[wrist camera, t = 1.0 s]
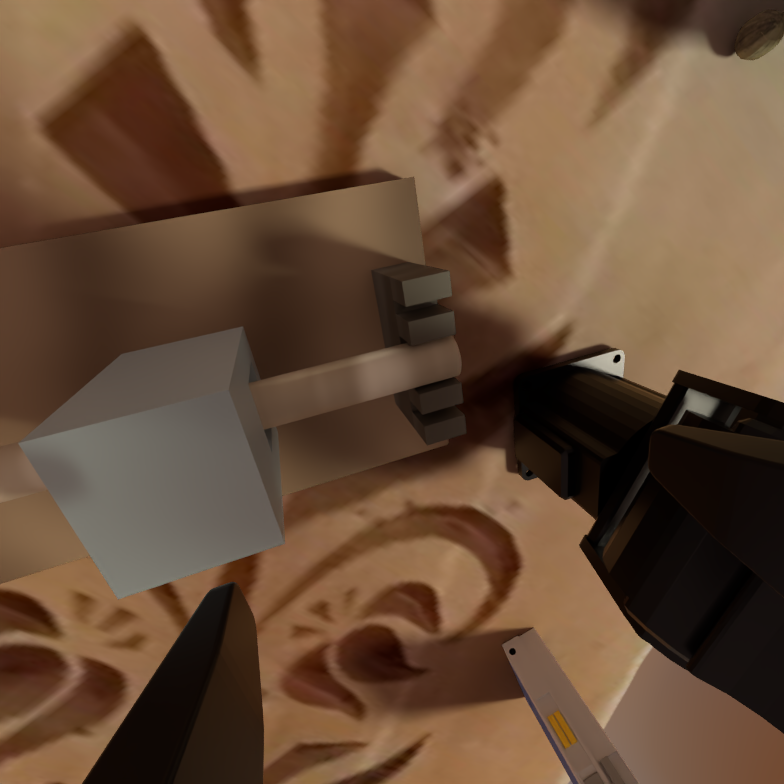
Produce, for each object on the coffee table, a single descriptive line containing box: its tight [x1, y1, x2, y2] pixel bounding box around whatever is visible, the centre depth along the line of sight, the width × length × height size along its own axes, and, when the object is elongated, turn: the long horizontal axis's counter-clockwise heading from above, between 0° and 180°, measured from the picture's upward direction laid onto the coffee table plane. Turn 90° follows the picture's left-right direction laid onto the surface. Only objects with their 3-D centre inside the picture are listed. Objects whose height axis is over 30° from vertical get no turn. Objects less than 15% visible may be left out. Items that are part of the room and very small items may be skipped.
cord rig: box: [0, 177, 467, 584], centre depth 14 cm, size 25×12×6 cm, turn 100°
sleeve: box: [18, 326, 285, 599], centre depth 12 cm, size 4×4×6 cm
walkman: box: [502, 628, 640, 784], centre depth 26 cm, size 8×3×12 cm, turn 22°
